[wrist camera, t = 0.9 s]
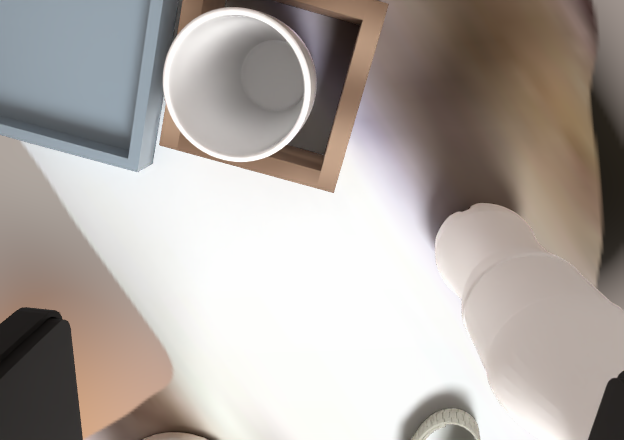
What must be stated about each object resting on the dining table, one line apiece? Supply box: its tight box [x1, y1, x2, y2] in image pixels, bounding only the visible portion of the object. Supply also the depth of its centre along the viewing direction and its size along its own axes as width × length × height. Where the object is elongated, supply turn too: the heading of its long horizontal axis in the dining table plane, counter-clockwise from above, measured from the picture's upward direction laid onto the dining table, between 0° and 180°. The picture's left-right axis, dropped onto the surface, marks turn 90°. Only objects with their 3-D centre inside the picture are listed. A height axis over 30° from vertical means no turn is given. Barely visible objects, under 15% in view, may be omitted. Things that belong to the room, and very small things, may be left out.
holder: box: [159, 0, 389, 193], centre depth 33 cm, size 12×12×6 cm
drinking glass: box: [163, 7, 317, 162], centre depth 29 cm, size 7×7×15 cm
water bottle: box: [435, 203, 624, 440], centre depth 27 cm, size 7×7×25 cm
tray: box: [0, 0, 179, 172], centre depth 34 cm, size 18×16×3 cm
